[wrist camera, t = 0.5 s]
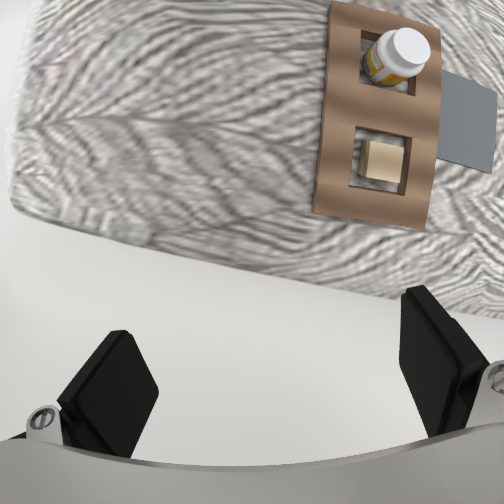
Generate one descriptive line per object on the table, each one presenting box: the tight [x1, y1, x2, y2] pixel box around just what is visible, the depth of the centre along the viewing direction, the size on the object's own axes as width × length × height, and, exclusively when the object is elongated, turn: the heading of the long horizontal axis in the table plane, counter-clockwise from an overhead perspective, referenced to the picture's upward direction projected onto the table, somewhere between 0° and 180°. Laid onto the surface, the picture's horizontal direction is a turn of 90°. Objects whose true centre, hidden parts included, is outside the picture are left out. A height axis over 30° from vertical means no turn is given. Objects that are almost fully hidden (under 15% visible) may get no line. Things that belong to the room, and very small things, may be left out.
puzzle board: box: [312, 1, 441, 229], centre depth 31 cm, size 26×14×2 cm, turn 175°
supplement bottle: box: [363, 28, 431, 87], centre depth 25 cm, size 5×5×10 cm
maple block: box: [358, 141, 404, 183], centre depth 32 cm, size 4×4×4 cm
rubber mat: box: [436, 69, 497, 174], centre depth 30 cm, size 12×10×1 cm
